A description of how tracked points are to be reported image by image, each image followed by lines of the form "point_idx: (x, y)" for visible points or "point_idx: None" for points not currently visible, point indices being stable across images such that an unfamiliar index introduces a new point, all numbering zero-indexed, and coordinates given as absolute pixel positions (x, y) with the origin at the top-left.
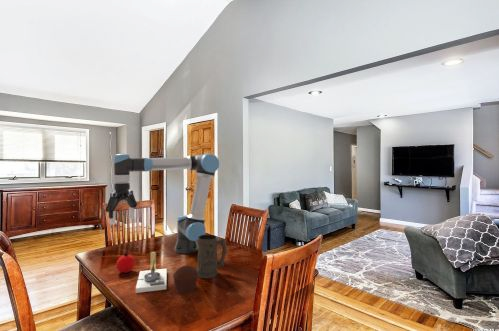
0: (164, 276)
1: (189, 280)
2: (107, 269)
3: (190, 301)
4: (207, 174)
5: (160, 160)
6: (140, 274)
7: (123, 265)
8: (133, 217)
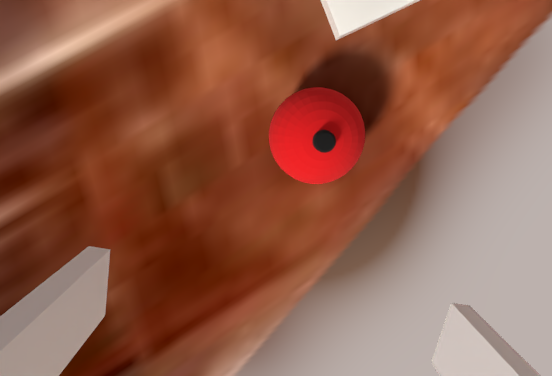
0: None
1: None
2: (293, 236)
3: None
4: None
5: None
6: (383, 8)
7: (363, 122)
8: (83, 259)
